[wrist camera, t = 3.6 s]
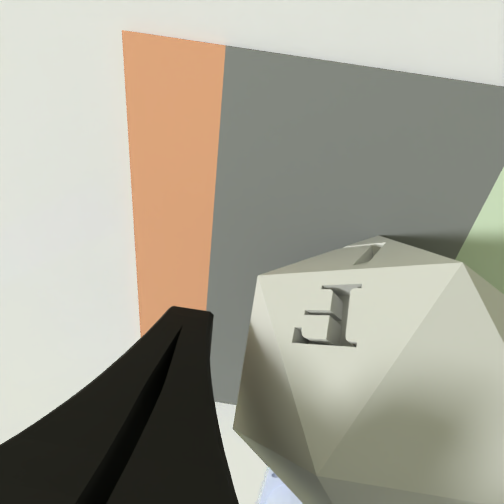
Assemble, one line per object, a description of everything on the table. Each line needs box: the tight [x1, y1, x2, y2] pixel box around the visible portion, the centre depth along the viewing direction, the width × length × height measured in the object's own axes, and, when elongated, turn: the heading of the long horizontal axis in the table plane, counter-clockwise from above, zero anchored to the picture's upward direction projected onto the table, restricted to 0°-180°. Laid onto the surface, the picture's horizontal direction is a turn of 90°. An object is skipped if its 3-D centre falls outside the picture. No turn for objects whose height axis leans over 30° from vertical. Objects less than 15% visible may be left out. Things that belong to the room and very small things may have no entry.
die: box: [233, 235, 504, 504], centre depth 10 cm, size 8×9×10 cm
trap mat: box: [122, 30, 504, 405], centre depth 13 cm, size 16×25×1 cm, turn 83°
